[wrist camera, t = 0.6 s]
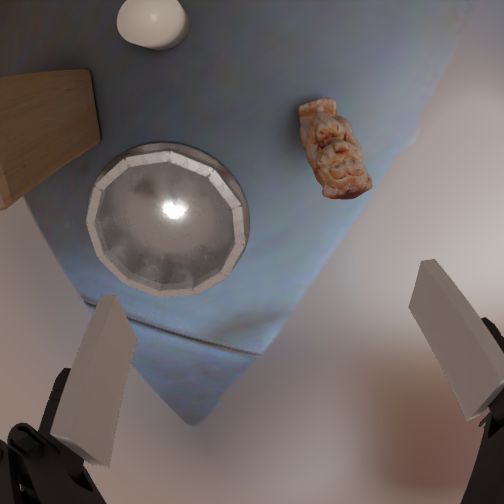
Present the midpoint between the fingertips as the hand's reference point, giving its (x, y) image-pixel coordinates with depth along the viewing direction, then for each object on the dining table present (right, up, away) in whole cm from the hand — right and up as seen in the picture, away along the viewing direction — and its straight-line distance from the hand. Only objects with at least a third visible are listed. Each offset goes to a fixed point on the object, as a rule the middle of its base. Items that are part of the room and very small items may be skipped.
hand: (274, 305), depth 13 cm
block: (-24, +19, +18) cm, 36 cm away
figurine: (+6, +17, +21) cm, 28 cm away
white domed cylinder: (-11, +27, +13) cm, 32 cm away
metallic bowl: (-12, +6, +27) cm, 30 cm away
